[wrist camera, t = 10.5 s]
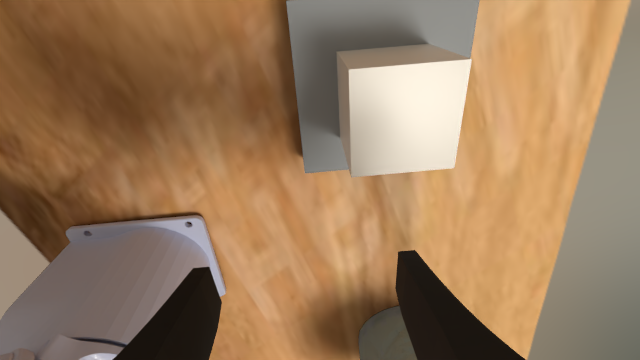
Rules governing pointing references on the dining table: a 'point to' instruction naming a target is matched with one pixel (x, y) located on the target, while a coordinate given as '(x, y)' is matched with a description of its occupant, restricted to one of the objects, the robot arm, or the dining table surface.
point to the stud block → (354, 34)
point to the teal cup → (385, 337)
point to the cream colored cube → (401, 108)
